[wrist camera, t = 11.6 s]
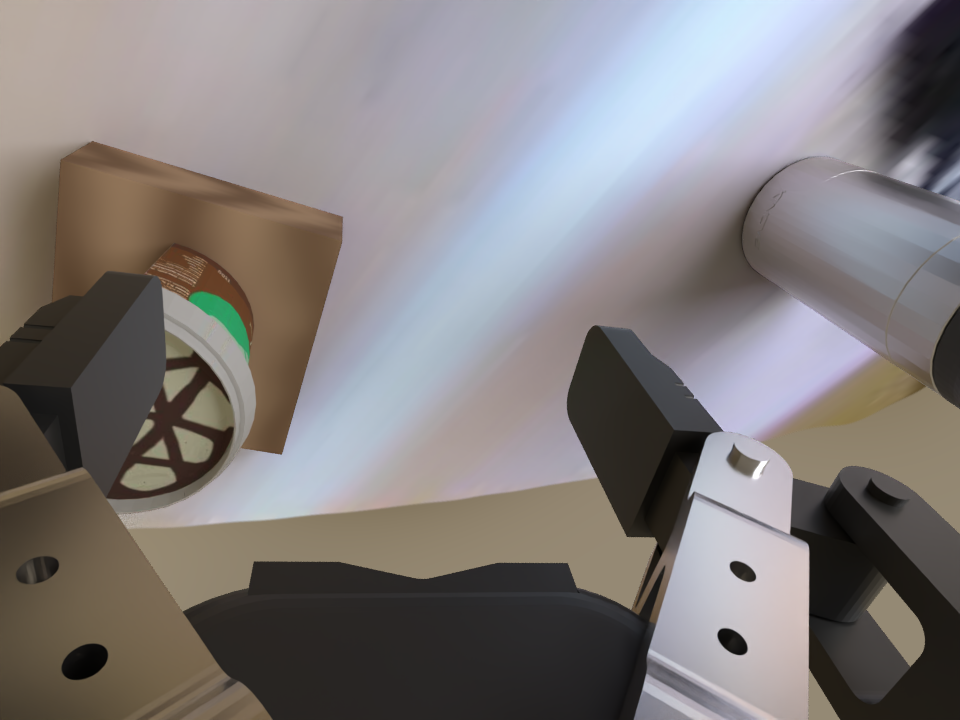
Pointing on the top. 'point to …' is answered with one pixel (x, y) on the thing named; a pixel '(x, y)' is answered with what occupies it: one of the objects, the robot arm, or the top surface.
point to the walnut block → (220, 236)
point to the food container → (192, 387)
